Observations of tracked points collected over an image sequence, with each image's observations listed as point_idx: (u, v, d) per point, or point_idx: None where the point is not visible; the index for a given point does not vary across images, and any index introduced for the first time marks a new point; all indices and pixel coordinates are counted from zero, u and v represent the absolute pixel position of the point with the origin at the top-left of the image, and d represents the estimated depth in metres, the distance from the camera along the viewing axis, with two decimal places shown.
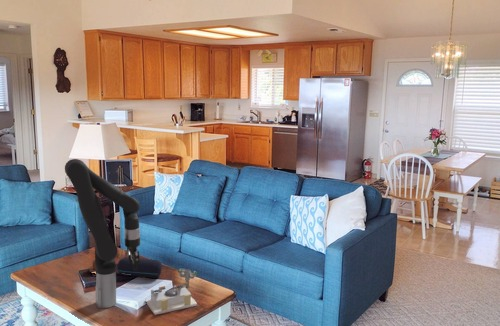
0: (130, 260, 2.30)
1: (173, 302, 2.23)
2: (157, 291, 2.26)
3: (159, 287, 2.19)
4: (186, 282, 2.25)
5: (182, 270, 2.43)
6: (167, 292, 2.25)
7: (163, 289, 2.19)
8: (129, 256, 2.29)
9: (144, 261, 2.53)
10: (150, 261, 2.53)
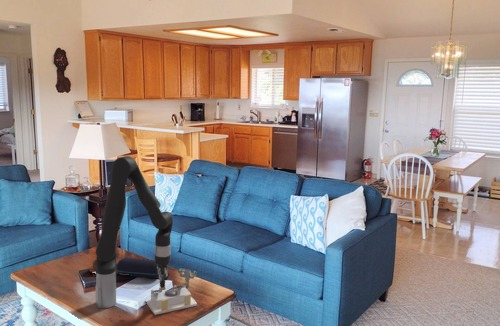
0: None
1: (173, 302, 2.23)
2: (157, 291, 2.26)
3: None
4: (186, 282, 2.25)
5: (182, 270, 2.43)
6: (167, 292, 2.25)
7: (163, 289, 2.19)
8: None
9: (144, 261, 2.53)
10: (150, 261, 2.53)
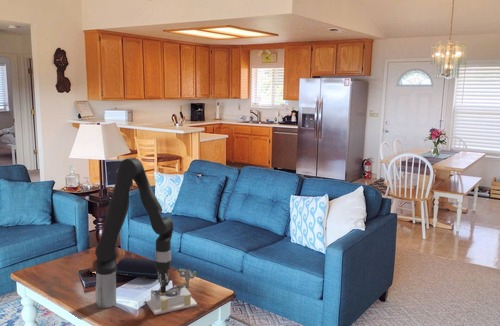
0: None
1: (173, 302, 2.23)
2: None
3: (160, 293, 2.18)
4: (186, 282, 2.25)
5: (182, 270, 2.43)
6: (167, 292, 2.25)
7: None
8: None
9: (144, 262, 2.52)
10: (150, 262, 2.53)
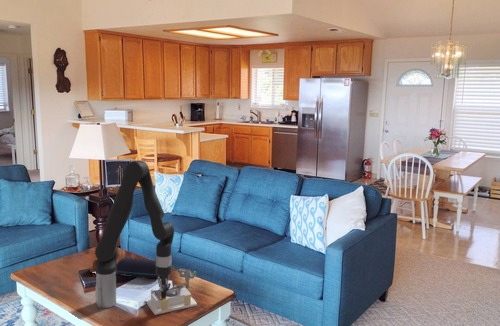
0: None
1: (173, 302, 2.23)
2: None
3: (160, 297, 2.18)
4: (186, 282, 2.25)
5: (182, 270, 2.43)
6: (167, 292, 2.25)
7: None
8: None
9: (144, 262, 2.52)
10: (150, 262, 2.52)
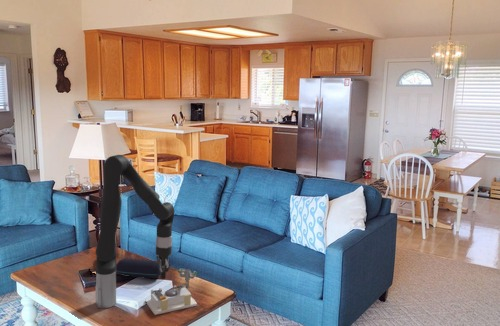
0: None
1: (173, 302, 2.23)
2: None
3: (160, 297, 2.18)
4: (186, 282, 2.25)
5: (182, 270, 2.43)
6: (167, 292, 2.25)
7: None
8: None
9: (143, 262, 2.52)
10: (149, 262, 2.52)
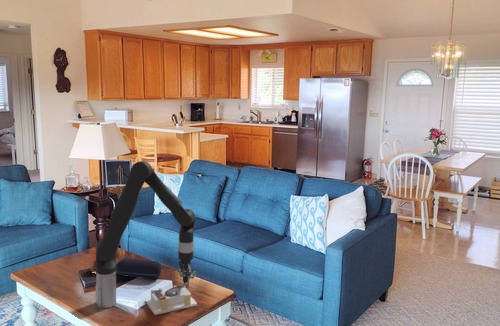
0: None
1: (173, 302, 2.23)
2: None
3: (160, 297, 2.18)
4: None
5: None
6: (167, 292, 2.25)
7: None
8: None
9: (143, 262, 2.52)
10: (149, 262, 2.52)
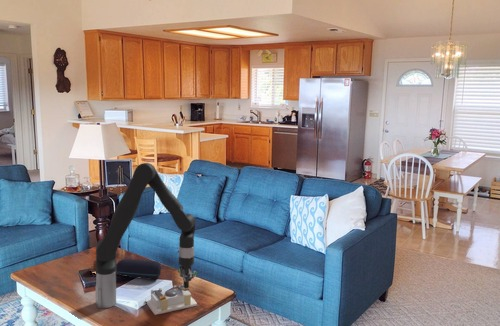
0: None
1: (173, 302, 2.23)
2: None
3: (160, 297, 2.18)
4: None
5: None
6: (167, 292, 2.25)
7: None
8: None
9: (143, 262, 2.52)
10: (149, 262, 2.52)
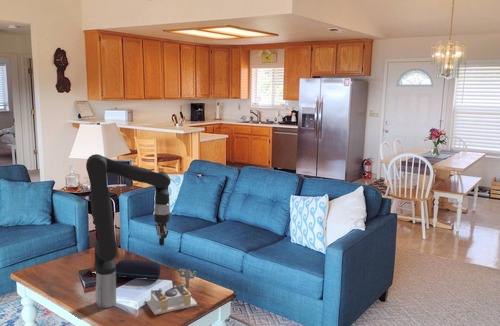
0: None
1: (173, 302, 2.23)
2: None
3: (160, 297, 2.18)
4: (187, 293, 2.24)
5: (182, 270, 2.43)
6: (167, 292, 2.25)
7: None
8: None
9: (143, 263, 2.50)
10: (149, 263, 2.51)
